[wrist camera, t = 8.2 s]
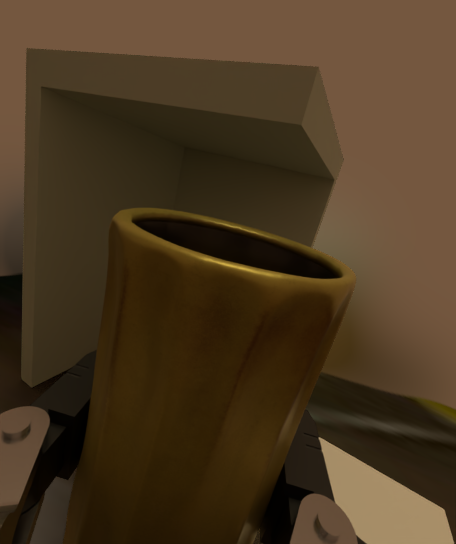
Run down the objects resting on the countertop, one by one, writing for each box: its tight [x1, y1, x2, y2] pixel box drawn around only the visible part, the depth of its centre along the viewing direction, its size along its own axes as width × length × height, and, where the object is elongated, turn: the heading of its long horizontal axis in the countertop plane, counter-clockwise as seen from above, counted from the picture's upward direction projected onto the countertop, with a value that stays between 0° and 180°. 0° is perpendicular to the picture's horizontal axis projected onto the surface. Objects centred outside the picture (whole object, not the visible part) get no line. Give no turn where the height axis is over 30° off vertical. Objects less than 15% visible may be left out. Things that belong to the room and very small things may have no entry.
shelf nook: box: [21, 48, 344, 388], centre depth 19 cm, size 14×13×20 cm
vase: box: [63, 208, 356, 544], centre depth 8 cm, size 6×6×14 cm
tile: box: [319, 437, 454, 544], centre depth 14 cm, size 9×9×1 cm
